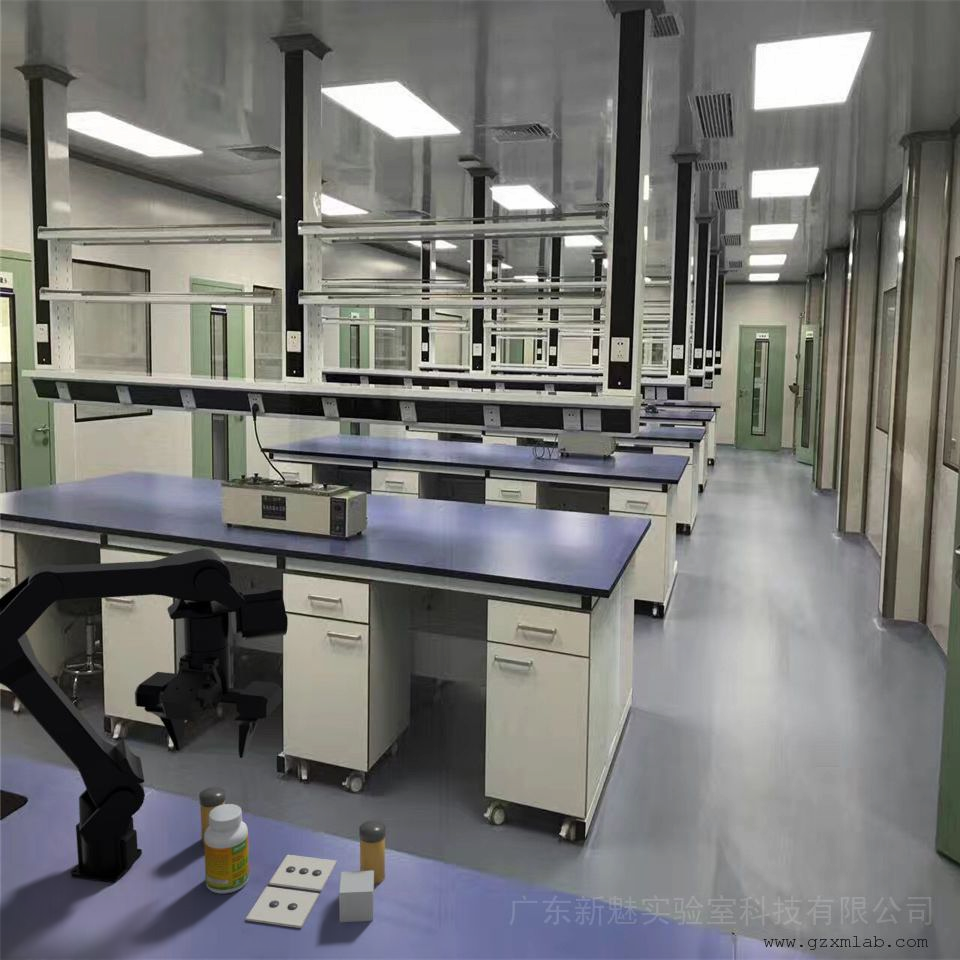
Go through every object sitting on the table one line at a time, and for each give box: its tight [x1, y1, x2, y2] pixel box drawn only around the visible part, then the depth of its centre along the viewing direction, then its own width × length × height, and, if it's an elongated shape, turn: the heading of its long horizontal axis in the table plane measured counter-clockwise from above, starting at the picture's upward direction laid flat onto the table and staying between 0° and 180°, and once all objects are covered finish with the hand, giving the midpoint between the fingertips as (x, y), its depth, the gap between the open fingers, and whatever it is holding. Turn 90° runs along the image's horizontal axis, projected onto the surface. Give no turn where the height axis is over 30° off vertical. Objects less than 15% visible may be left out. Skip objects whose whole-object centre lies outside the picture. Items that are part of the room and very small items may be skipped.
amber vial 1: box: [198, 786, 226, 846], centre depth 116 cm, size 3×3×7 cm
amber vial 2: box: [358, 819, 387, 886], centre depth 108 cm, size 3×3×7 cm
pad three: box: [268, 854, 338, 892], centre depth 109 cm, size 7×6×1 cm
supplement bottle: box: [203, 803, 250, 895], centre depth 107 cm, size 5×5×10 cm
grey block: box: [338, 870, 375, 923], centre depth 102 cm, size 4×4×4 cm
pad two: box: [245, 886, 320, 929], centre depth 103 cm, size 7×6×1 cm
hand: (210, 753), depth 114 cm, fingers open, 9 cm apart
